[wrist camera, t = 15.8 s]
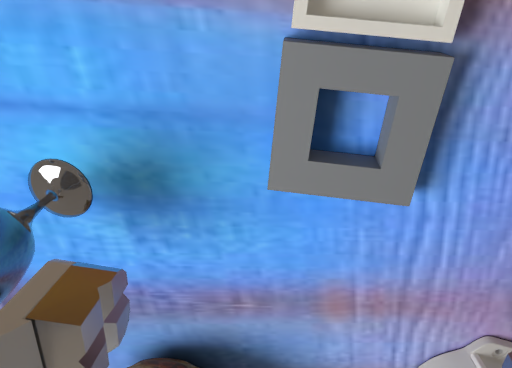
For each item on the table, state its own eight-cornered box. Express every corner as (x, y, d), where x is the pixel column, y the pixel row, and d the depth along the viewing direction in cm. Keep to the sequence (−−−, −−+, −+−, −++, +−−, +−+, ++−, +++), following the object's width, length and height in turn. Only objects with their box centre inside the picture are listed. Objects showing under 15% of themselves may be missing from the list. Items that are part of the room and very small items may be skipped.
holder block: (441, 52, 31) (454, 57, 28) (401, 191, 37) (409, 206, 34) (284, 37, 32) (283, 41, 29) (269, 176, 38) (267, 189, 35)
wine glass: (104, 177, 40) (5, 268, 26) (84, 231, 43) (-12, 336, 30) (32, 142, 39) (-109, 217, 25) (18, 200, 42) (-113, 294, 29)
